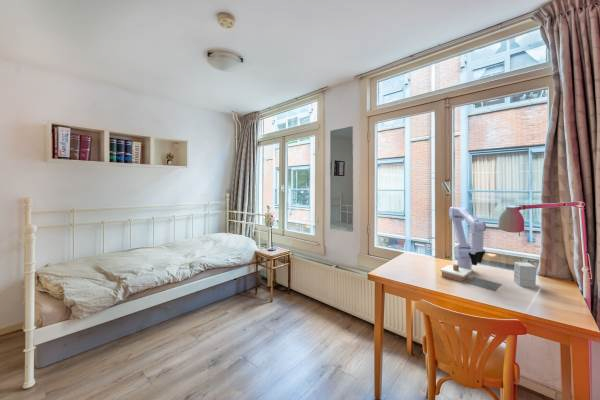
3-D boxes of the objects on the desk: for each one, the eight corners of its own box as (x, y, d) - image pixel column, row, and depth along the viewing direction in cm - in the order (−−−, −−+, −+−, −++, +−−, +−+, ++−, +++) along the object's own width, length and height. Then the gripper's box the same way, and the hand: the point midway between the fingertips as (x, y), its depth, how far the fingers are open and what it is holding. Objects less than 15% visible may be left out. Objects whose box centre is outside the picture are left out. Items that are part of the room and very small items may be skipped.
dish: (448, 272, 164) (448, 266, 163) (467, 277, 155) (468, 271, 155) (441, 277, 157) (441, 270, 156) (461, 282, 148) (461, 276, 148)
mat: (473, 277, 155) (474, 276, 155) (502, 285, 144) (502, 284, 144) (465, 284, 146) (465, 283, 146) (495, 292, 135) (495, 291, 135)
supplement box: (528, 283, 145) (529, 262, 144) (535, 288, 138) (537, 267, 137) (512, 282, 148) (514, 261, 147) (519, 287, 141) (520, 265, 140)
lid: (448, 266, 164) (449, 260, 164) (471, 271, 154) (471, 265, 154) (440, 271, 156) (440, 264, 156) (463, 277, 146) (463, 270, 146)
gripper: (481, 244, 141) (480, 268, 142) (489, 240, 150) (488, 262, 151) (467, 242, 147) (466, 265, 148) (475, 239, 156) (474, 260, 157)
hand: (476, 263), depth 150 cm, fingers open, 7 cm apart
